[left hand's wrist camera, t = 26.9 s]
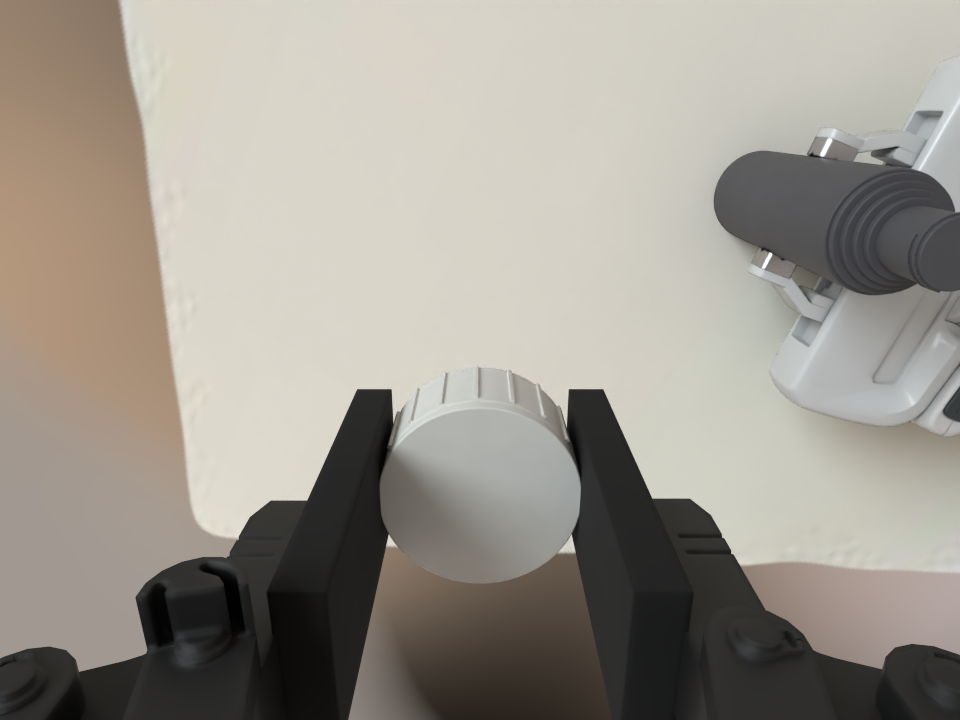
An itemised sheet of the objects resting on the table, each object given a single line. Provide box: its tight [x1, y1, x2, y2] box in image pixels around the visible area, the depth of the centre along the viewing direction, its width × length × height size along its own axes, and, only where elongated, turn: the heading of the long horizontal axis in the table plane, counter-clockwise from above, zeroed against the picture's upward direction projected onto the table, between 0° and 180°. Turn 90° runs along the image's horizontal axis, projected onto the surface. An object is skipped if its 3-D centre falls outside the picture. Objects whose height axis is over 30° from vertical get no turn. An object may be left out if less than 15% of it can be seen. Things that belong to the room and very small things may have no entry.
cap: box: [379, 366, 581, 583], centre depth 14 cm, size 4×4×2 cm
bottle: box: [714, 151, 960, 295], centre depth 32 cm, size 5×5×19 cm
